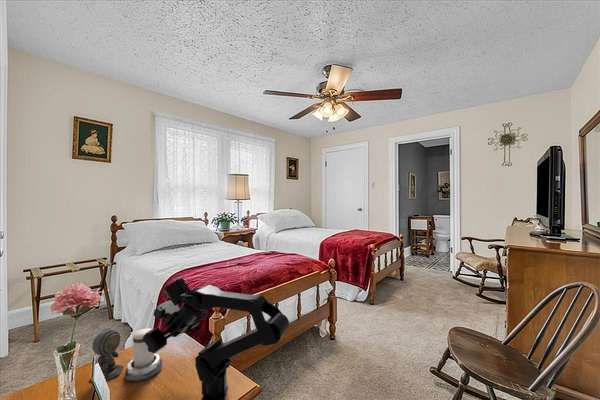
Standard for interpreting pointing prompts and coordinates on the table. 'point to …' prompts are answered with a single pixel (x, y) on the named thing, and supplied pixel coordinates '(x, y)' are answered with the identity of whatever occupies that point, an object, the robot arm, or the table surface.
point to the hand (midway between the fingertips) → (160, 342)
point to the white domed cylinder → (141, 350)
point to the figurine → (107, 353)
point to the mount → (143, 370)
